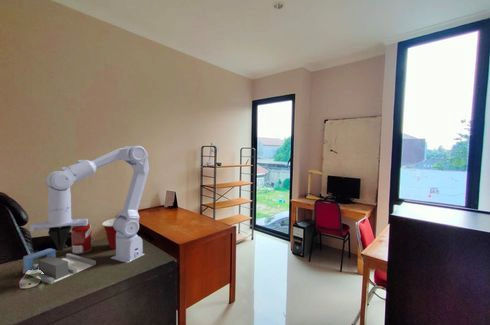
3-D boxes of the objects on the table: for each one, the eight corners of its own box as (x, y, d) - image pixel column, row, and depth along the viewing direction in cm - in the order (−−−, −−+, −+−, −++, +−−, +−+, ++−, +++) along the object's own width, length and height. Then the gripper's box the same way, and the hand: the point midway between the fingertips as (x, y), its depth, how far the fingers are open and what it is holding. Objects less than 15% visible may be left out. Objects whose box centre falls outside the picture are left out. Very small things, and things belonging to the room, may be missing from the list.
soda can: (81, 256, 91) (81, 226, 91) (67, 254, 92) (67, 225, 92) (95, 249, 98) (95, 221, 97) (82, 247, 99) (82, 220, 99)
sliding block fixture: (95, 265, 83) (95, 248, 83) (50, 285, 70) (50, 265, 70) (68, 257, 90) (68, 241, 89) (23, 274, 77) (22, 256, 77)
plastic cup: (99, 247, 100) (99, 220, 99) (126, 240, 107) (125, 215, 107) (106, 255, 92) (105, 225, 92) (134, 247, 100) (134, 220, 99)
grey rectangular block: (68, 274, 76) (68, 261, 76) (56, 279, 73) (55, 265, 73) (50, 268, 80) (50, 255, 80) (38, 273, 77) (38, 260, 77)
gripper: (89, 203, 81) (89, 242, 81) (35, 207, 74) (36, 249, 75) (85, 208, 74) (85, 249, 75) (26, 212, 68) (27, 257, 68)
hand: (61, 249), depth 74 cm, fingers closed
